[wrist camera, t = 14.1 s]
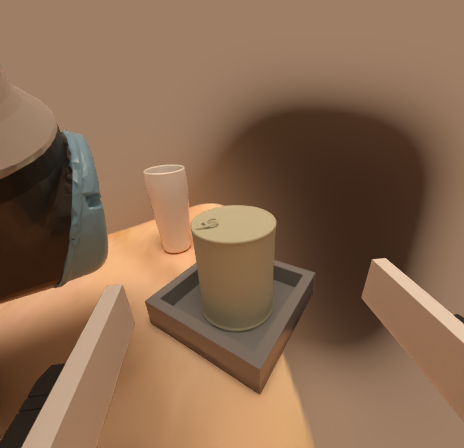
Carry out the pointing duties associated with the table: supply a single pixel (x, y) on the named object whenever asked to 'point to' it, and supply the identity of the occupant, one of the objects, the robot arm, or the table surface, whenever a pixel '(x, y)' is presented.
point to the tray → (226, 342)
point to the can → (235, 265)
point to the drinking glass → (170, 205)
